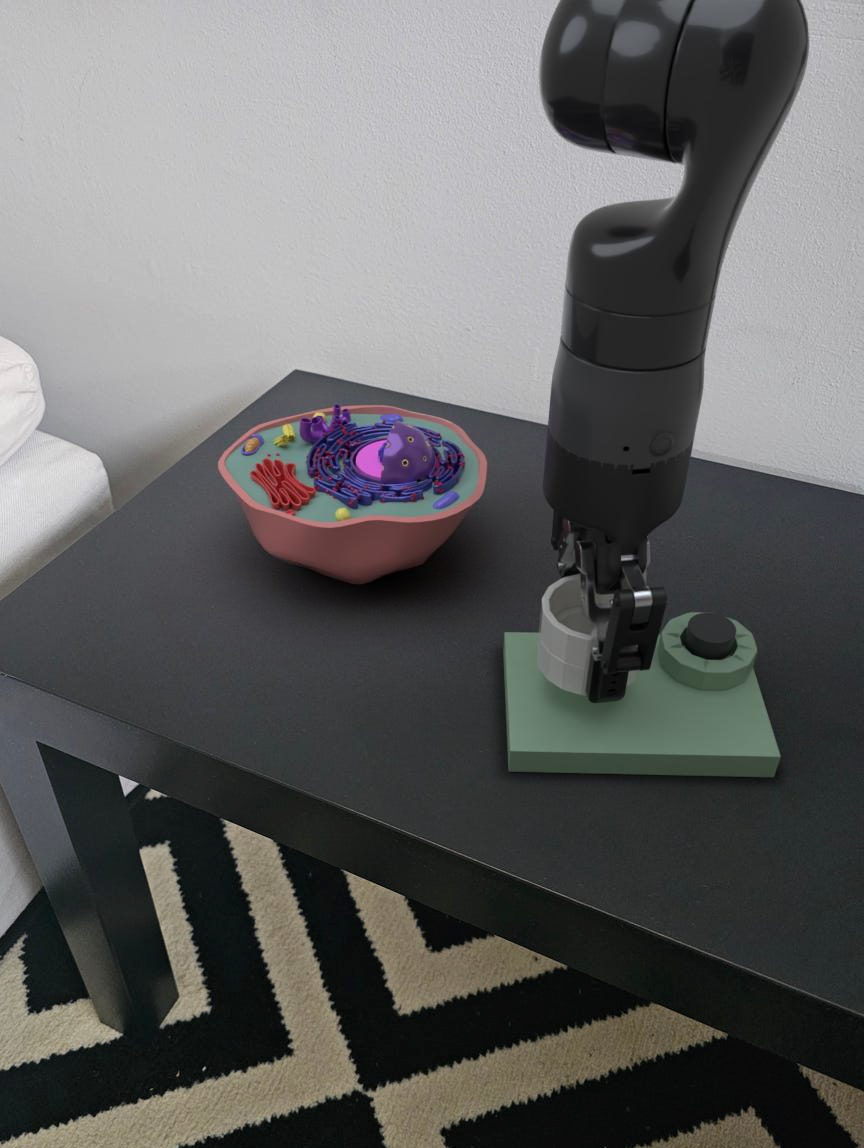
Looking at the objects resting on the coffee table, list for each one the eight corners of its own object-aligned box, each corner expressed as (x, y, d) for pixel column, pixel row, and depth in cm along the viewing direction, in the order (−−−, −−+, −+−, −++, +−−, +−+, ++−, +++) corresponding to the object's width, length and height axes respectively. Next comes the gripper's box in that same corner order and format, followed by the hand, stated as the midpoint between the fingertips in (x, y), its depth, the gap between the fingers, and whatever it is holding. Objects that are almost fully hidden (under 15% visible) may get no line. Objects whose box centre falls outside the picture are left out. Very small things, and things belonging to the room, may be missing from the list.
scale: (736, 651, 72) (746, 612, 69) (774, 777, 63) (787, 737, 61) (502, 648, 72) (505, 609, 70) (508, 772, 64) (511, 732, 62)
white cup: (631, 634, 67) (642, 573, 64) (644, 703, 63) (656, 641, 59) (534, 633, 68) (539, 572, 65) (539, 701, 63) (545, 639, 60)
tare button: (726, 630, 68) (731, 612, 67) (735, 661, 66) (740, 643, 65) (680, 630, 69) (684, 611, 68) (688, 660, 66) (692, 642, 65)
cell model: (276, 479, 90) (262, 357, 82) (504, 510, 85) (511, 384, 78) (196, 598, 78) (171, 468, 70) (457, 642, 73) (461, 508, 66)
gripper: (520, 364, 59) (505, 593, 70) (587, 504, 48) (557, 749, 59) (649, 353, 60) (614, 583, 70) (743, 490, 49) (685, 736, 60)
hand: (588, 658), depth 65 cm, fingers closed on white cup, 6 cm apart
